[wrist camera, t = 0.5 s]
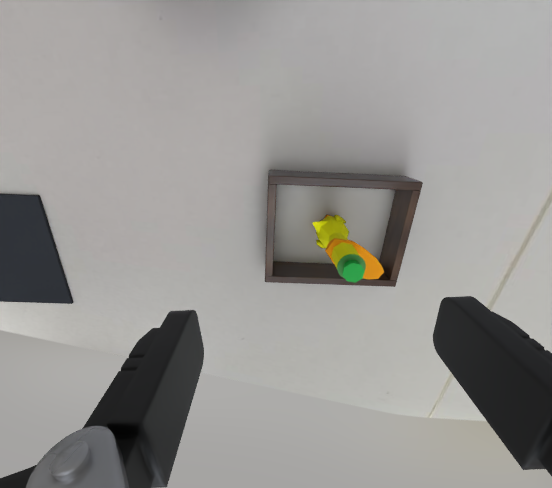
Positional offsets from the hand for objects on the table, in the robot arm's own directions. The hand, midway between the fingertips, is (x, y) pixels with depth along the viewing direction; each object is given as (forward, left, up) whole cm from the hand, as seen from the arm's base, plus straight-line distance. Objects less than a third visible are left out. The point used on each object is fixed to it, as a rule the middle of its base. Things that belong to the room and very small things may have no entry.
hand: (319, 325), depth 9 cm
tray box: (-4, -5, -22) cm, 23 cm away
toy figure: (-4, -5, -22) cm, 23 cm away
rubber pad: (-9, +32, -22) cm, 39 cm away
